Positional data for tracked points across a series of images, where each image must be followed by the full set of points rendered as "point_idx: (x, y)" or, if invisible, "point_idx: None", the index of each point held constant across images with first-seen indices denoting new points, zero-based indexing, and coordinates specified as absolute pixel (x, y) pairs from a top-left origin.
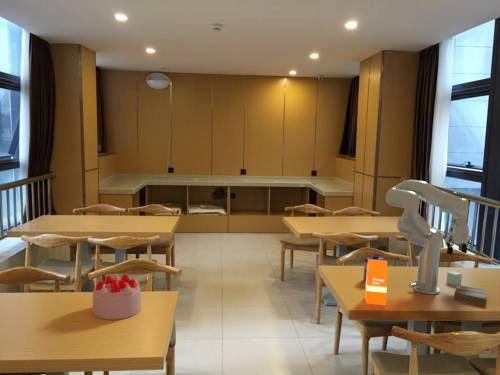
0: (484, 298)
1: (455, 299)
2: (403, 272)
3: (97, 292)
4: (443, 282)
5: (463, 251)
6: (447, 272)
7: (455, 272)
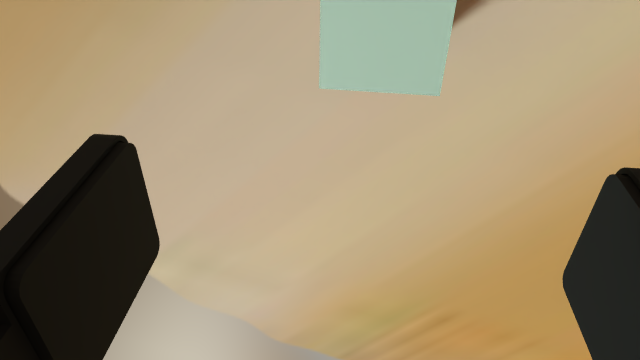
0: None
1: None
2: (534, 324)
3: None
4: (456, 57)
5: (137, 210)
6: (439, 90)
7: (356, 43)
